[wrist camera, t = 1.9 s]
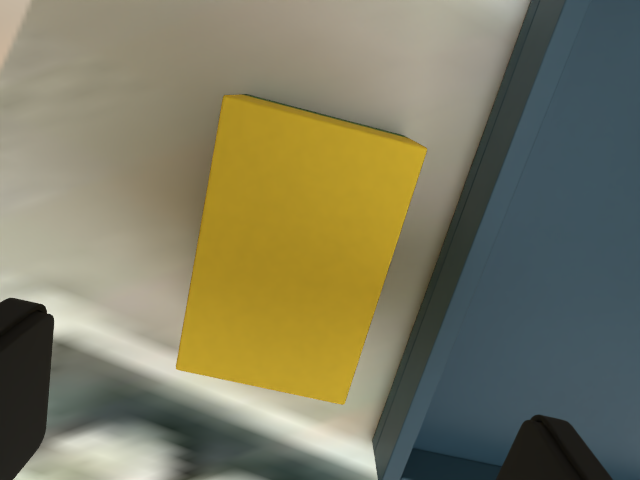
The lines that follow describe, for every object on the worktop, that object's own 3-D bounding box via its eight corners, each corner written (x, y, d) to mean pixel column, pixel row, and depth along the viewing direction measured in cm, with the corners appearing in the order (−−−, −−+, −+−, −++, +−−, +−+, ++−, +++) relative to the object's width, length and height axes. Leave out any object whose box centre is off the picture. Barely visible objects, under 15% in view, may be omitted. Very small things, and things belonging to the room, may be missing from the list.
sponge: (340, 348, 21) (344, 405, 17) (202, 317, 20) (174, 370, 16) (405, 136, 18) (428, 148, 14) (244, 93, 17) (222, 94, 13)
